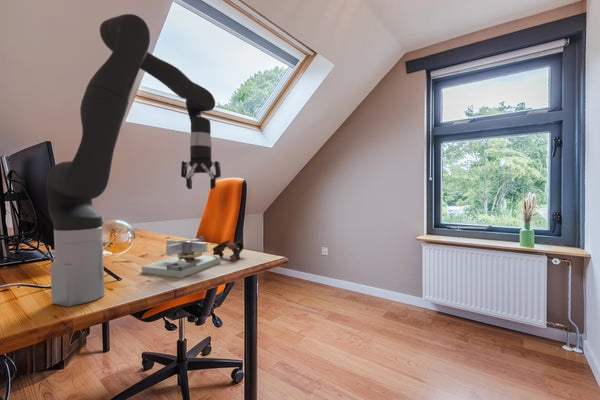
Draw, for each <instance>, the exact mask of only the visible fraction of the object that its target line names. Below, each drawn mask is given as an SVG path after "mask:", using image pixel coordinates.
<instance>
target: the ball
mask: <svg viewBox="0 0 600 400" xmlns="http://www.w3.org/2000/svg"><path fill="white" fill-rule="evenodd" d="M177 264H178V266H182V265H185V264H186V260H184V259H180V260H179V261H178V263H177Z"/></svg>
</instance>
